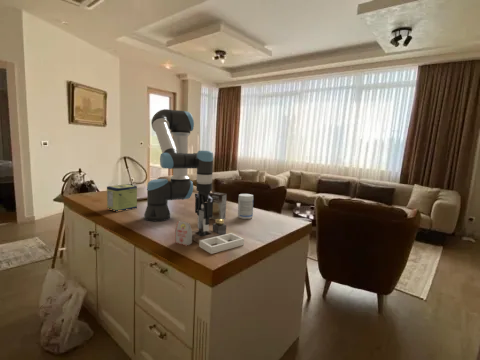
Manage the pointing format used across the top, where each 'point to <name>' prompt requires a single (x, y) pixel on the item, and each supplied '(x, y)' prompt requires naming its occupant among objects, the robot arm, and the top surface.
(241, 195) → the supplement tub
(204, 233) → the grey bottle
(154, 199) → the robot arm
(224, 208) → the coffee box
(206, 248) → the tray
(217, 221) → the release key
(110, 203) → the protein box
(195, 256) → the top surface
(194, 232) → the socket
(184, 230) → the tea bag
